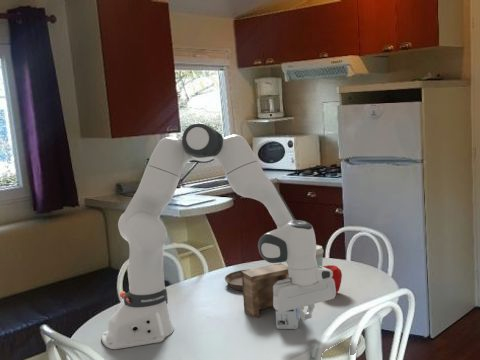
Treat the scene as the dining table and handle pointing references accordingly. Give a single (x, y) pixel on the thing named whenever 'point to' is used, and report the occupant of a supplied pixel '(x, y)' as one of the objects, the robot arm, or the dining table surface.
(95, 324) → the dining table surface
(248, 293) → the walnut dock
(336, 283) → the apple
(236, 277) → the plant saucer
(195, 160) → the robot arm
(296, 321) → the light bulb box
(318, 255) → the coffee cup
